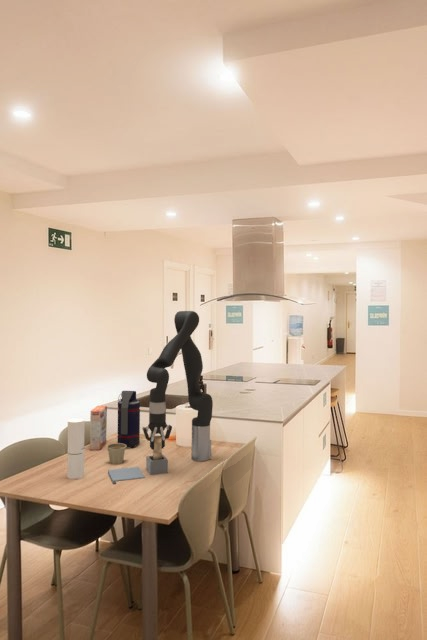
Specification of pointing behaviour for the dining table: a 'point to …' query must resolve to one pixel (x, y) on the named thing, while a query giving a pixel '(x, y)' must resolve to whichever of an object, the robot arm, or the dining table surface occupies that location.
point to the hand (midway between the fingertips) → (157, 448)
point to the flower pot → (116, 452)
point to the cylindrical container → (75, 449)
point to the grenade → (129, 419)
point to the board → (125, 474)
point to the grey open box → (156, 465)
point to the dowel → (157, 448)
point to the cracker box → (98, 427)
